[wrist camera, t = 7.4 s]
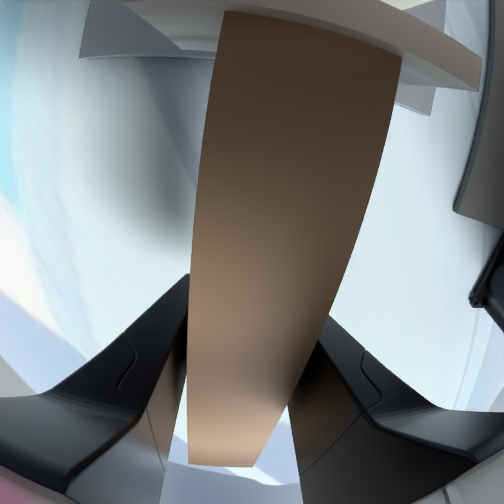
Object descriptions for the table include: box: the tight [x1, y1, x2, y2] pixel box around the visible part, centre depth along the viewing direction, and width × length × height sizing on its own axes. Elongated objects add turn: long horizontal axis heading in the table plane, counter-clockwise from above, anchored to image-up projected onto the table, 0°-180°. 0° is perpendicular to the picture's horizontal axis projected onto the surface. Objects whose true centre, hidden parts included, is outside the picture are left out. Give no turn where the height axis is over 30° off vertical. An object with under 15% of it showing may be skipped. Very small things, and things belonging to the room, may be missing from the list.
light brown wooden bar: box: [121, 0, 482, 467], centre depth 7 cm, size 14×5×4 cm, turn 170°
